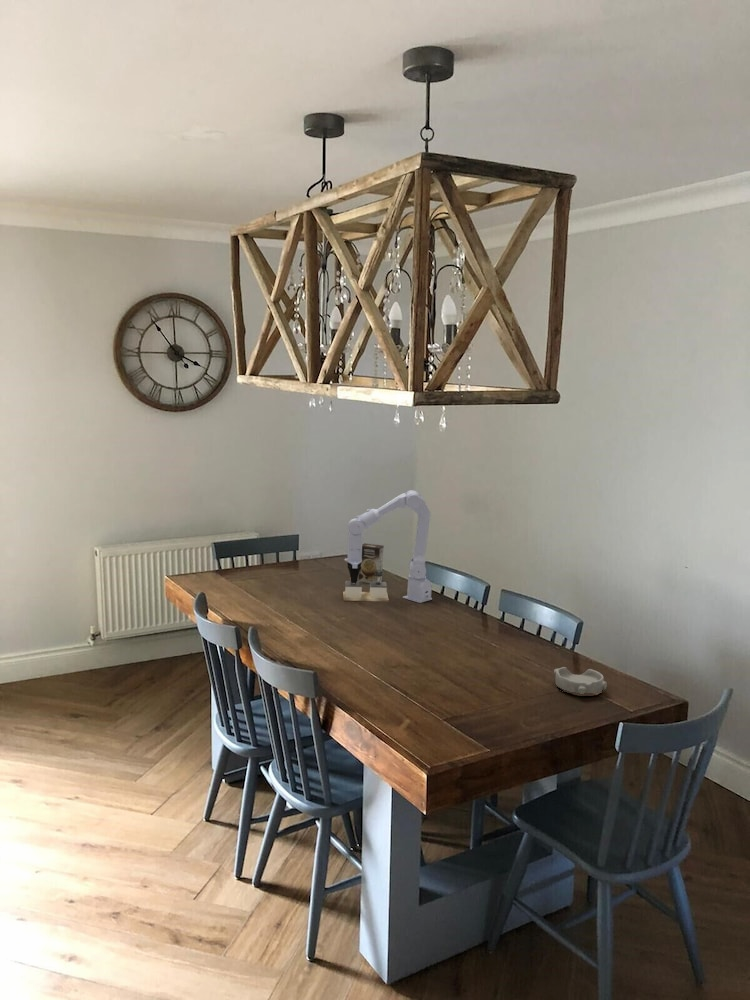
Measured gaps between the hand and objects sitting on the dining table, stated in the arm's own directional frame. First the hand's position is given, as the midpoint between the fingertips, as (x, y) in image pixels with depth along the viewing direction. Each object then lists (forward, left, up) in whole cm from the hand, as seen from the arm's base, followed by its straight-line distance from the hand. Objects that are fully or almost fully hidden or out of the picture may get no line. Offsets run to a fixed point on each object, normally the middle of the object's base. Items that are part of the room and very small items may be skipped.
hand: (353, 581), depth 327 cm
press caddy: (-3, -4, -6) cm, 8 cm away
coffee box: (+13, -23, -7) cm, 27 cm away
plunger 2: (-7, -7, -2) cm, 10 cm away
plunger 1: (0, 0, -4) cm, 4 cm away
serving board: (-3, -4, -6) cm, 8 cm away
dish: (-111, +14, -7) cm, 113 cm away
